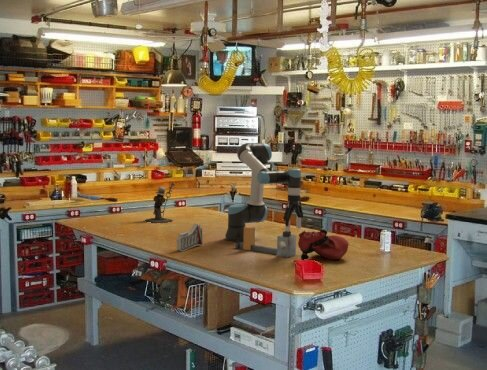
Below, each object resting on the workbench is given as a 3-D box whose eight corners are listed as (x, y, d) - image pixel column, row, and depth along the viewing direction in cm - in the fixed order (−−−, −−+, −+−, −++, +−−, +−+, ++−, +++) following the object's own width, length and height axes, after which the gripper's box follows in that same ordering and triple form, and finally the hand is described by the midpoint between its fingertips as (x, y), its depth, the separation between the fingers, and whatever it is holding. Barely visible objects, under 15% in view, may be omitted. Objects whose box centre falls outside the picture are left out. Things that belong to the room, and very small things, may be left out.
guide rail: (235, 248, 380) (235, 242, 379) (239, 247, 384) (239, 241, 384) (278, 255, 363) (278, 249, 362) (282, 253, 367) (282, 248, 366)
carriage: (243, 249, 376) (243, 227, 375) (248, 247, 381) (248, 225, 379) (249, 250, 373) (250, 227, 372) (254, 248, 378) (255, 226, 377)
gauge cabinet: (276, 256, 360) (277, 236, 359) (285, 253, 369) (285, 233, 367) (286, 257, 356) (287, 237, 355) (295, 254, 365) (296, 235, 363)
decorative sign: (180, 255, 368) (179, 231, 365) (177, 255, 369) (175, 231, 366) (203, 245, 387) (201, 222, 384) (199, 245, 388) (198, 222, 386)
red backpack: (357, 233, 351) (314, 229, 337) (351, 267, 352) (308, 264, 338) (332, 226, 372) (291, 221, 358) (327, 258, 373) (285, 255, 359)
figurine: (138, 222, 469) (138, 183, 465) (151, 217, 491) (151, 180, 487) (165, 224, 462) (166, 184, 459) (177, 219, 484) (178, 182, 481)
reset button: (282, 241, 361) (282, 231, 361) (285, 240, 364) (285, 231, 363) (287, 241, 359) (287, 232, 359) (290, 240, 362) (290, 231, 362)
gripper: (298, 192, 377) (297, 226, 380) (278, 196, 357) (277, 231, 359) (309, 193, 373) (308, 227, 375) (289, 197, 353) (288, 233, 355)
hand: (293, 229), depth 367 cm, fingers open, 13 cm apart
